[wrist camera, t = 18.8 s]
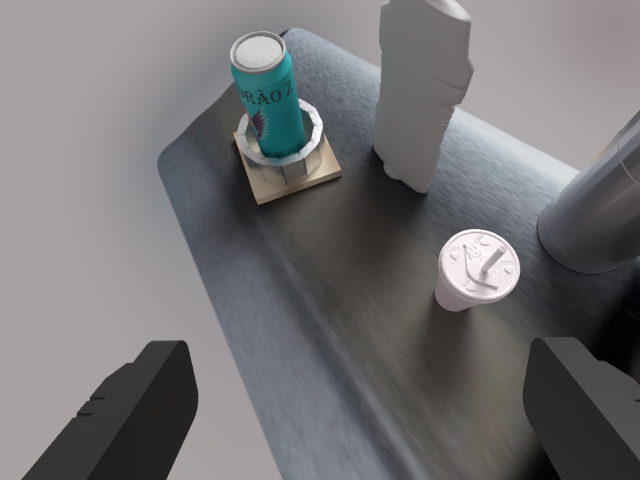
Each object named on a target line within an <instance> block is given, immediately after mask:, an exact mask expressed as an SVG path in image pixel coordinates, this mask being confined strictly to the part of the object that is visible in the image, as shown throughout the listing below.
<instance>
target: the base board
mask: <svg viewBox="0 0 640 480" xmlns="http://www.w3.org/2000/svg"><path fill="white" fill-rule="evenodd" d="M304 132H305V138H306V145H307V144H308V143H309V142H310V141H311V138H312V134H311V133H309V132H307V131H306V130H304ZM233 134H234V137H235V140H236V143H237V146H238V149H239V152H240V155H241V158H242V161H243V164H244V167H245V170H246V173H247V175H248V178H249V181H250V184H251V187H252V190H253V193H254V196H255V199H256V202H257V204H258V205H260V204H262V203H265V202H268V201H271V200H274V199H276V198H279V197H282V196H285V195H288V194H291V193H293V192H296V191H299V190H302V189H305V188H307V187H310V186H313V185H316V184H319V183H321V182H324V181H327V180H330V179H333V178H336V177H338V176H341V169H340V167H339V164H338V162H337V160H336V158H335V156H334V154H333V152H332V149H331V147H330V145H329V143H328V141H327V139H326V137H325V134H324V138H325V151H324V155H323V160H322V163H321V165H320V166H319V167H318V168H317V169H316V170H315V171H314V172H313V173H312V174H311V175H310V176H309V177H307V179H304V180H301V181H298V182H295V183H292V184H290V185H288V184H287V185H279V184H270V183H265V182H264V181H262V180H261V179H260V178H258V177H257V176H255V175H254V174H253V173H251V171H250V169H249V167H248V165H247V163H246V160H245V158H244V156H243V154H242V151H241V148H240V145H239V143H238V140H237V137H236V136H237V135H236V134H237V132H235V133H233ZM254 151H255V152H256V153H258V154H259V155H261V156H262V157H264V156H263V154H262V153H261V151H260V148H259V145H258V142H257V143H256V146H255V150H254Z"/></svg>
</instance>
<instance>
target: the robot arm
mask: <svg viewBox="0 0 640 480" xmlns="http://www.w3.org/2000/svg"><path fill="white" fill-rule="evenodd" d="M538 235H539V238H540V241H541V243H542V245H543V247H544V249H545V250H546V251H547V252H548V254H549V255H550V256H551V257H552V258H553V259H555V260H556V261H557V262H558V263H560V264H561V265H563V266H565V267H566V268H569V269H571V270H574V271H576V272H581V273H586V274H599V273H605V272H608V271H610V270H613V269H615V268H617V267H619V266H621V265H622V264H624V263H626V262H628V261H630V260H632V259H634V258H636V257H638V256H640V111H639V112H638V113H637V114H636V115H635V116H634V117H633V118H632V119H631V120H630V121H629V122H628V123H627V124H626V125H625V126H624V127H623V128H622V129H621V130H620V131H619V133H618V134H617V135H616V136H615V137H614V138H613V139H612V140H611V141H610V142H609V143H608V144H607V145H606V146H605V147H604V148H603V149H602V150H601V151H600V152H599V153H598V154H597V155H596V156H595V157H594V158H593V159H592V160H591V161H590V162H589V163H588V165H587V166H586V167H585V168H584V169H583V170H582V171H581V172H580V173H579V174H578V175H577V176H576V177H575V178H574V179H573V180H572V181H571V182H570V183H569V184H568V185H567V186H566V187H565V188H564V189H563V190H562V191H561V192H560V193H559V194H558V195H557V196H556V197H555V198H554V199H553V201H552V202H551V203H550V204H549V205H548V206H547V207H546V208H545V209H544V210H543V211H542V213H541V215H540V217H539V220H538ZM523 404H524V409H525V413H526V416H527V418H528V421H529V423H530V424H531V426H532V428H533V430H534V432H535V433H536V435H537V437H538V439H539V441H540V442H541V444H542V446H543V448H544V450H545V451H546V453H547V455H548V457H549V458H550V460H551V462H552V464H553V466H554V467H555V469H556V471H557V473H558V475H559V476H560V478H561V480H640V385H639V384H638V383H637V382H636V381H635V380H634V379H633V378H631V377H630V376H628V375H626V374H625V373H623V372H622V371H620V370H618V369H617V368H615V367H614V366H612V365H610V364H609V363H607V362H606V361H598V360H597V359H596V358H595V357H594V356H593V355H592V354H591V353H590V352H589V351H588V350H587V349H586V348H585V347H584V346H583V344H582V343H581V342H580V341H579V340H577V339H576V338H573V337H550V338H535V339H534V340H533V341H532V344H531V348H530V354H529V359H528V365H527V371H526V377H525V382H524V388H523ZM197 406H198V389H197V384H196V380H195V375H194V371H193V366H192V362H191V357H190V353H189V349H188V346H187V344H186V342H185V341H182V340H179V341H151V342H149V343H148V344H147V345H146V347H145V348H144V349H143V350H142V352H141V353H140V354H139V355H138V357H137V358H136V359H135V361H134V362H133V363H126V364H125V365H124V366H122V367H121V368H119V369H118V370H117V371H115V372H114V373H113V374H111V375H110V376H108V377H107V378H106V379H105V380H104V381H103V382H102V384H101V385H100V386H99V387H98V388H97V389H96V391H95V392H94V393H93V394H92V395H91V397H90V401H86V403H85V404H84V405H83V406H82V407H81V409H80V410H79V411H78V412H77V416H76V418H72V419H71V421H70V422H69V423H68V424H67V425H66V427H65V428H64V429H63V430H62V432H61V433H60V434H59V435H58V436H57V438H56V439H55V440H54V441H53V442H52V444H51V445H50V446H49V447H48V448H47V450H46V451H45V452H44V453H43V454H42V455H41V457H40V458H39V459H38V460H37V462H36V463H35V464H34V465H33V466H32V467H31V469H30V470H29V471H28V472H27V473H26V475H25V476H24V477H23V478H22V479H21V480H166V479H167V477H168V475H169V472H170V470H171V468H172V466H173V464H174V461H175V459H176V457H177V455H178V453H179V451H180V448H181V446H182V444H183V442H184V440H185V437H186V436H187V433H188V431H189V429H190V426H191V425H192V422H193V420H194V418H195V415H196V411H197Z"/></svg>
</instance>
